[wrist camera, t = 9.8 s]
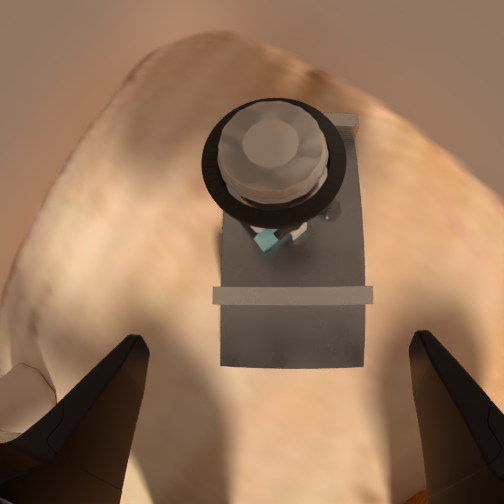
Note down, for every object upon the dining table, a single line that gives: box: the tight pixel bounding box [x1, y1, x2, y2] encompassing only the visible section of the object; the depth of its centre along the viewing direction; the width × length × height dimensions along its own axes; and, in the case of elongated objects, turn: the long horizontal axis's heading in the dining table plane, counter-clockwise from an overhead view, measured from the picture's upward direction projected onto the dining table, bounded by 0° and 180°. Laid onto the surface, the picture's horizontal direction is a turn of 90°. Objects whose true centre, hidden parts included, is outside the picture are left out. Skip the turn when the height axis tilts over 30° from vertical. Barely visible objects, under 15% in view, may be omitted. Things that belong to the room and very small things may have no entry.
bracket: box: [213, 113, 373, 369], centre depth 19 cm, size 16×9×3 cm, turn 0°
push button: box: [202, 98, 347, 252], centre depth 15 cm, size 7×5×10 cm
